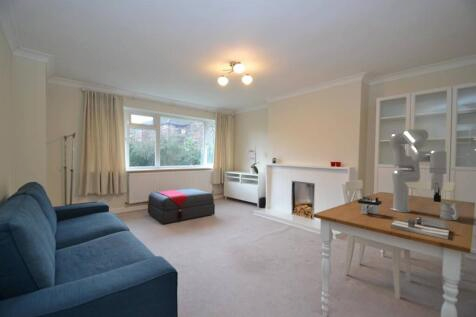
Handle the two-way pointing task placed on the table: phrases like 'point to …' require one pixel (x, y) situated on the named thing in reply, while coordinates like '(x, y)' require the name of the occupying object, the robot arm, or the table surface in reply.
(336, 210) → the table surface
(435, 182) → the robot arm
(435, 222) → the bar
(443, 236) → the door board
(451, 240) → the table surface
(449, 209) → the mug
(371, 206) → the black-topped pedestal
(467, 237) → the table surface
